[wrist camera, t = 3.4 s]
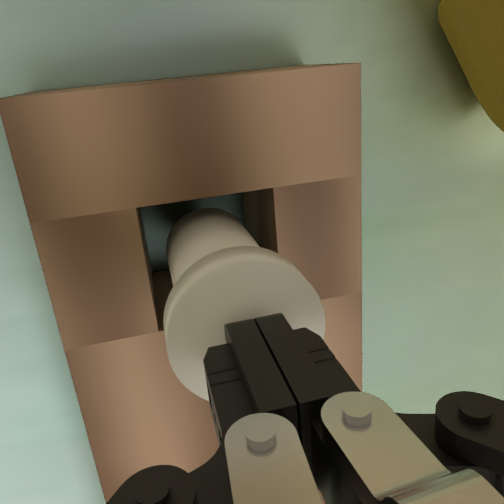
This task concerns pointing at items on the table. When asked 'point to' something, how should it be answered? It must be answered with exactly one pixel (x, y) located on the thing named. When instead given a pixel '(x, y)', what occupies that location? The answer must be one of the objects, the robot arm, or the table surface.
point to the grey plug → (226, 290)
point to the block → (175, 190)
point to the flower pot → (478, 48)
